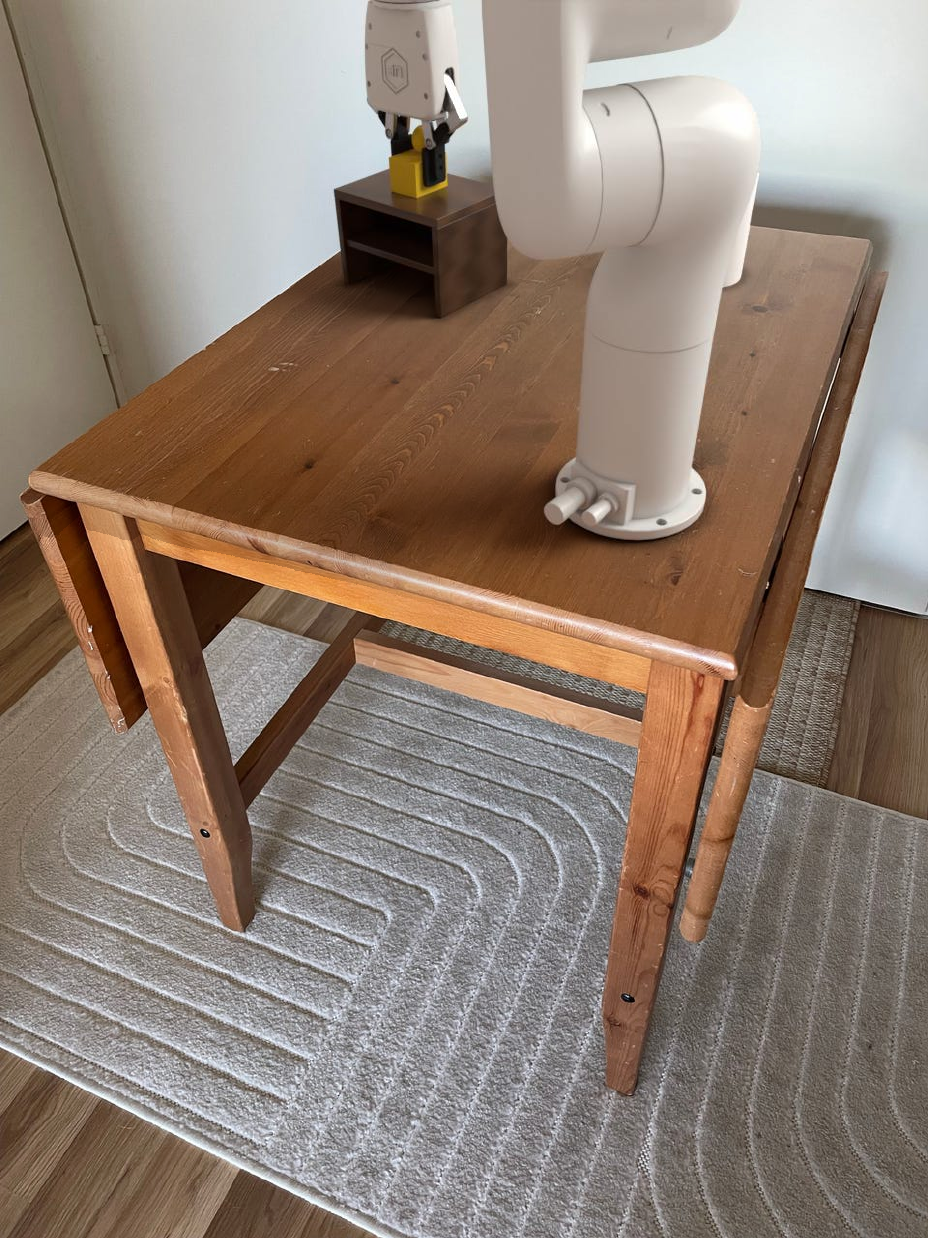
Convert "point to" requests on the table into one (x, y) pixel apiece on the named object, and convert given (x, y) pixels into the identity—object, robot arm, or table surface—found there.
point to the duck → (411, 169)
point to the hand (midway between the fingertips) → (419, 177)
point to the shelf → (425, 236)
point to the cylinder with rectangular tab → (740, 245)
